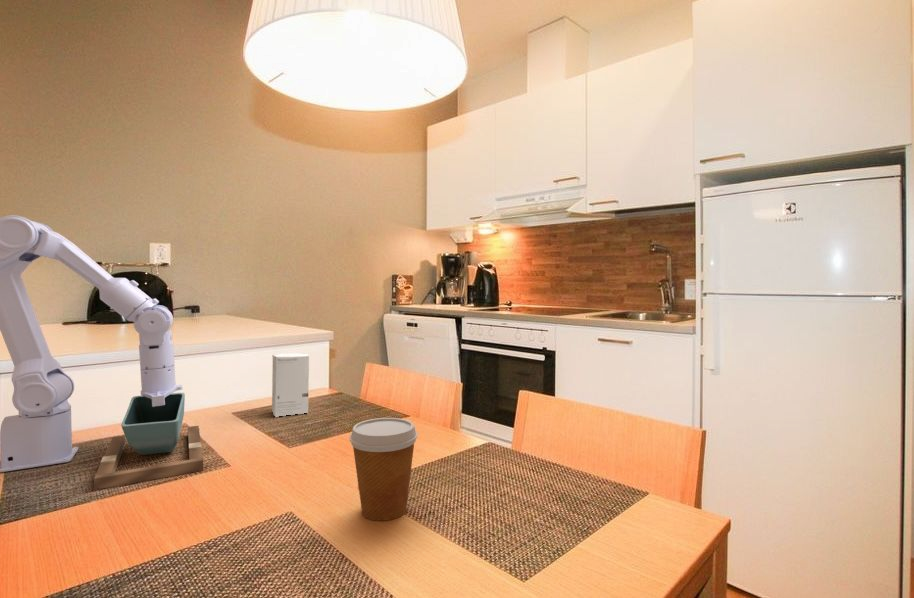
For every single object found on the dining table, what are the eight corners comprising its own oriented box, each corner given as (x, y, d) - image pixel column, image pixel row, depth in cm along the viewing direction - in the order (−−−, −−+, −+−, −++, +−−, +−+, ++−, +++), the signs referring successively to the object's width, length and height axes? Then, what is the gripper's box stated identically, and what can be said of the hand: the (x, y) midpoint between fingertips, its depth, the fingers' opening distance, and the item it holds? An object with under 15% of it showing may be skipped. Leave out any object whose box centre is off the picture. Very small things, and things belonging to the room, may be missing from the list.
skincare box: (274, 418, 112) (273, 357, 112) (271, 412, 118) (270, 353, 117) (310, 413, 116) (309, 354, 116) (305, 408, 122) (305, 351, 121)
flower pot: (126, 464, 85) (120, 426, 81) (137, 432, 92) (132, 395, 89) (181, 458, 88) (177, 421, 85) (188, 427, 96) (185, 392, 92)
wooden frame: (94, 490, 73) (93, 476, 73) (112, 446, 93) (112, 435, 93) (203, 470, 80) (203, 458, 80) (198, 433, 100) (198, 424, 100)
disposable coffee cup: (388, 534, 59) (387, 441, 59) (335, 515, 64) (334, 429, 64) (431, 504, 67) (430, 423, 67) (381, 489, 72) (380, 413, 72)
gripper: (181, 369, 88) (185, 439, 89) (180, 359, 101) (184, 420, 101) (136, 374, 85) (141, 447, 85) (141, 363, 97) (145, 427, 98)
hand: (161, 433), depth 93 cm, fingers closed, pressing on flower pot
